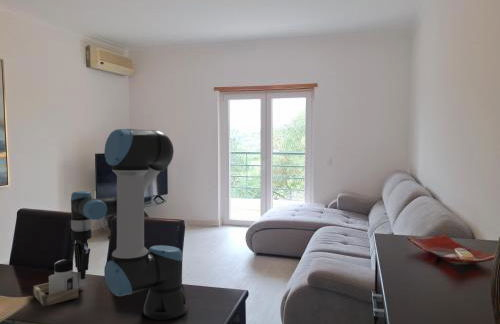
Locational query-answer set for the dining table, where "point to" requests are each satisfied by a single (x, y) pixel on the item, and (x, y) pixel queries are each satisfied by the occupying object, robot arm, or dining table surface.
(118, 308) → the dining table surface
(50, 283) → the container
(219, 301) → the dining table surface
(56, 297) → the corral
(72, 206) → the robot arm
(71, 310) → the dining table surface
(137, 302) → the dining table surface
